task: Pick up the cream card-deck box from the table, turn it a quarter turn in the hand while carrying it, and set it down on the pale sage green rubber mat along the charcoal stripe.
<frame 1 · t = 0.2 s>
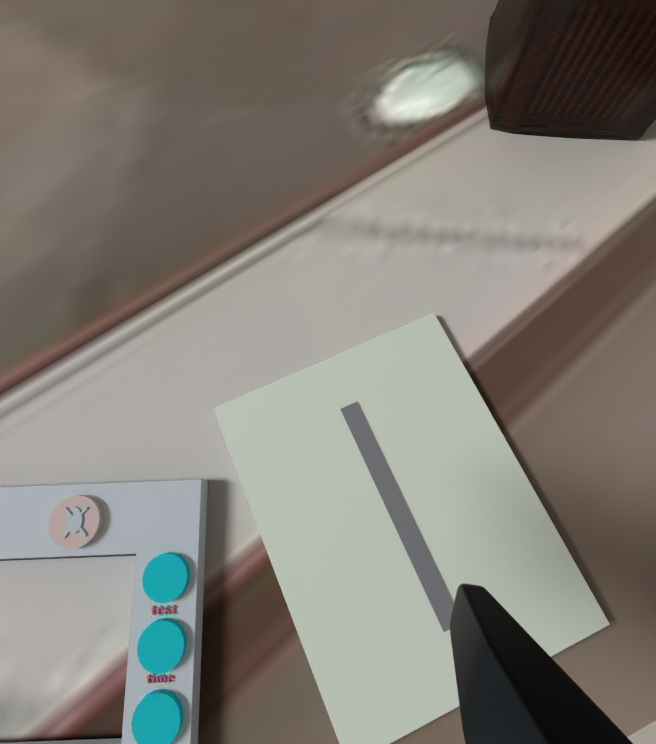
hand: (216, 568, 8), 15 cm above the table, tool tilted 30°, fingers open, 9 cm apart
mat: (395, 507, 22), on the table
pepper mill: (522, 77, 30), on the table
electronic device: (32, 635, 21), on the table
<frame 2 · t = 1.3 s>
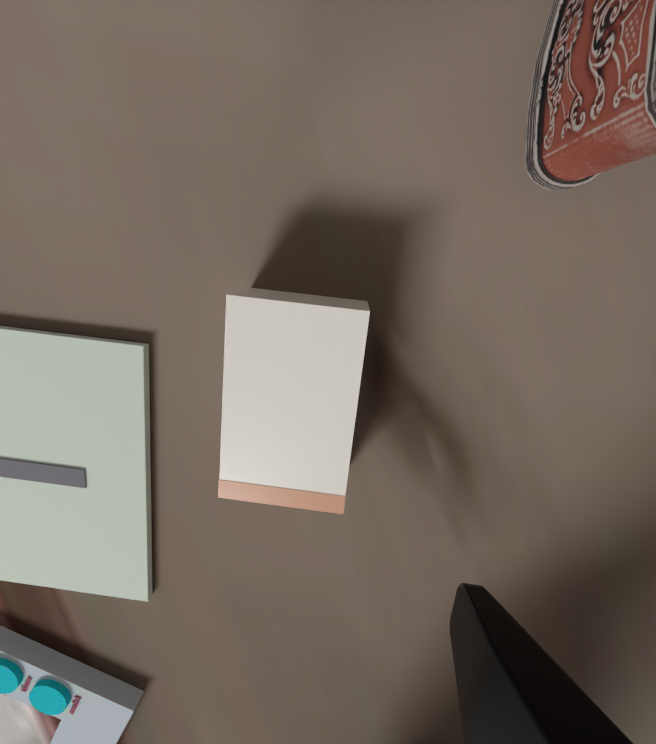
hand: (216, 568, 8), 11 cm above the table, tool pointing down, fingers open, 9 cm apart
lighter: (580, 70, 15), on the table
deck: (300, 383, 19), on the table
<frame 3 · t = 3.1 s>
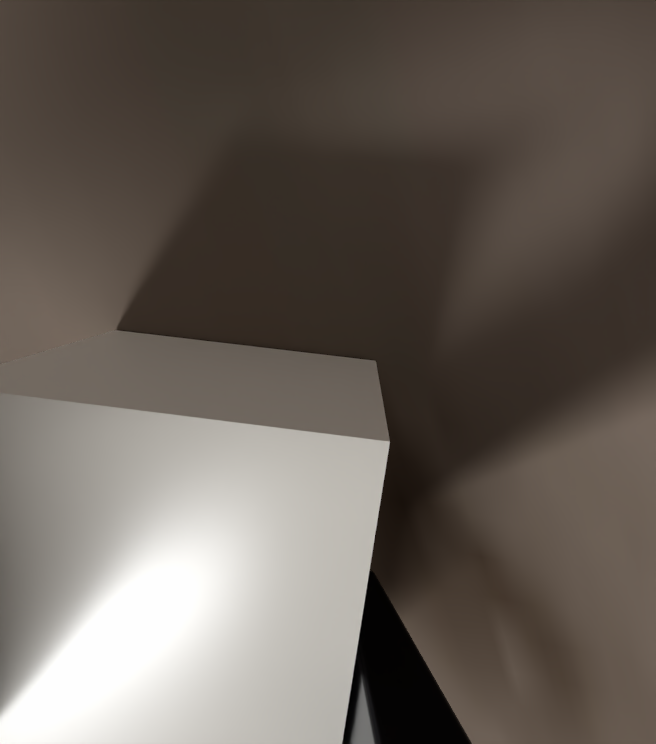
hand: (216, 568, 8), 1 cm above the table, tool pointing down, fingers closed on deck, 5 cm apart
deck: (235, 526, 9), on the table, touching gripper
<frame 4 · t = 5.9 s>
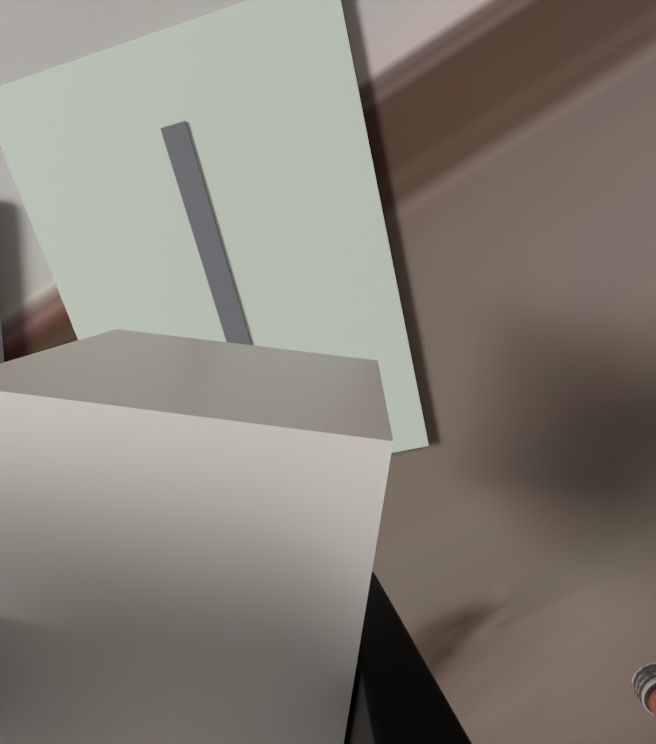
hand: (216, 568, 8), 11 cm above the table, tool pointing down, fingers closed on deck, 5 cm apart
mat: (225, 282, 17), on the table
deck: (236, 525, 9), point 10 cm above the table, touching gripper
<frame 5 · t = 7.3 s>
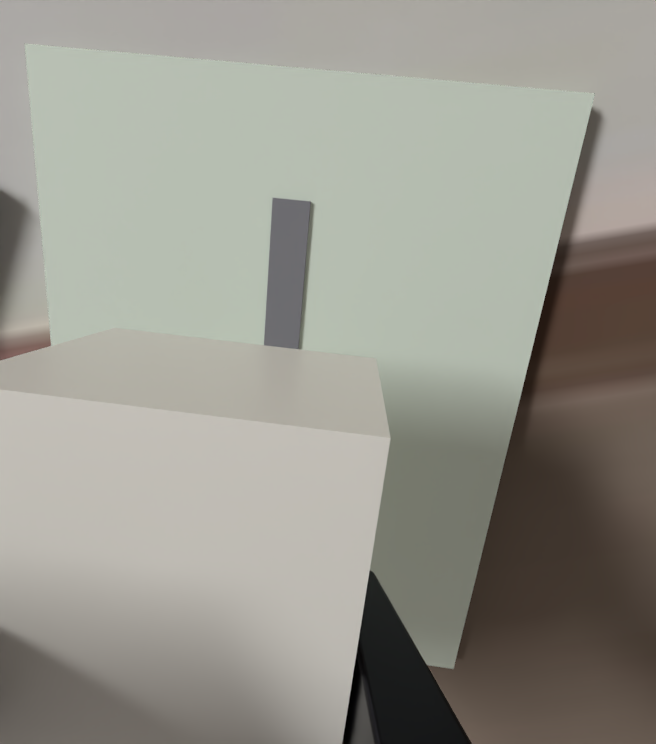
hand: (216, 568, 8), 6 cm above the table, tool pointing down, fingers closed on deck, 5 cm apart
mat: (279, 405, 13), on the table
deck: (234, 524, 9), point 5 cm above the table, touching gripper
when the fingers open (3 cm above the table, at t = 8.6 s): deck drops 1 cm, resting on mat.
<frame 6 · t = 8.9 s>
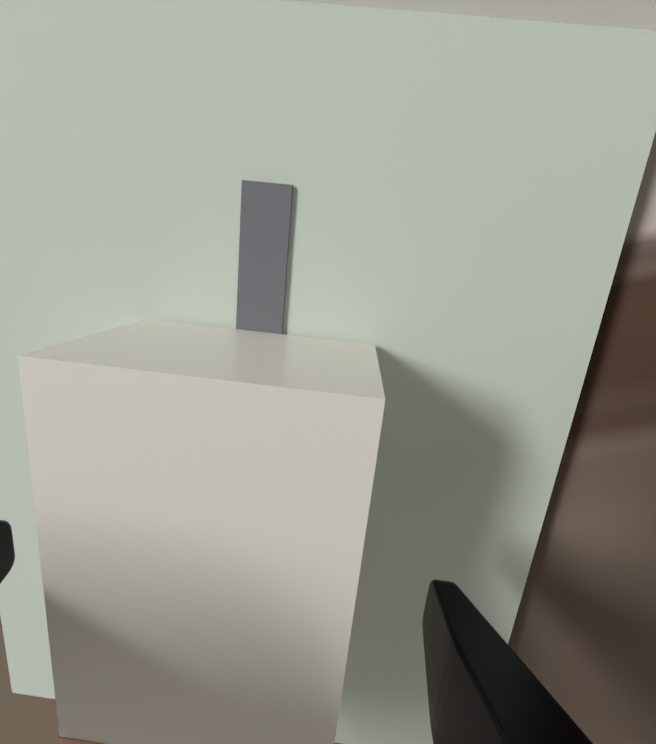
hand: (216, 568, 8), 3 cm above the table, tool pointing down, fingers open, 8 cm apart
mat: (257, 446, 10), on the table
deck: (249, 494, 10), point 1 cm above the table, touching mat
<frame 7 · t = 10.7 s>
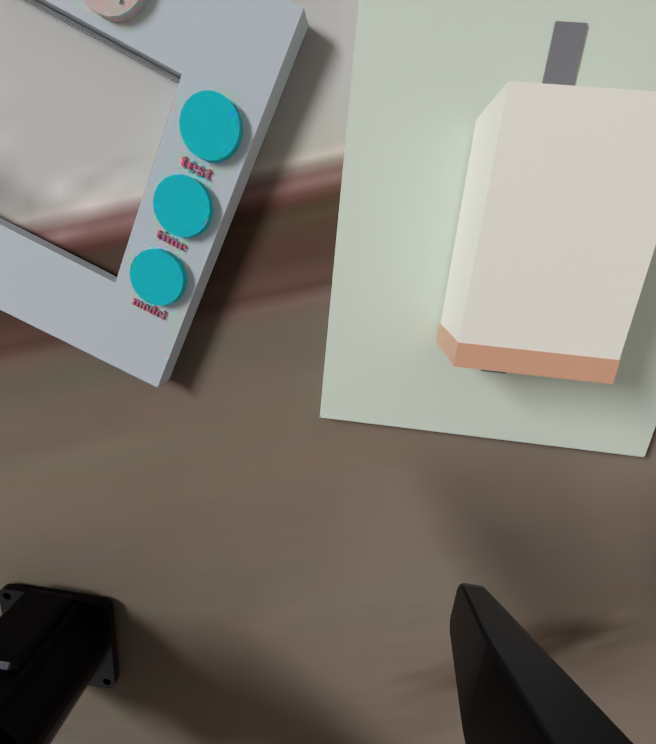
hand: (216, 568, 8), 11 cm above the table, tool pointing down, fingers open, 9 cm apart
mat: (522, 219, 16), on the table
deck: (522, 245, 15), point 1 cm above the table, touching mat
electronic device: (39, 124, 17), on the table
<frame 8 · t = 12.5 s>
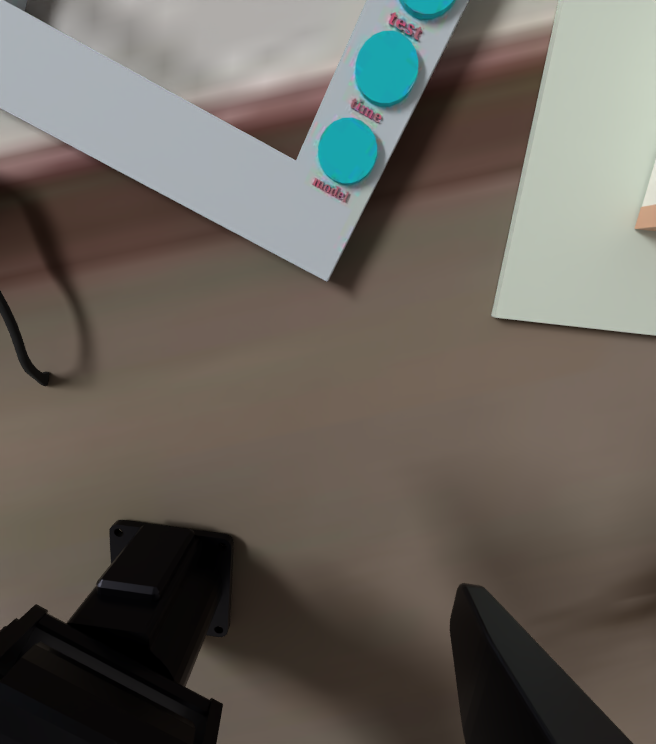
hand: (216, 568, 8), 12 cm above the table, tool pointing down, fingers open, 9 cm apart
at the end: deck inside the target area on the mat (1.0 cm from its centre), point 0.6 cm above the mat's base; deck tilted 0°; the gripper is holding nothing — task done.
